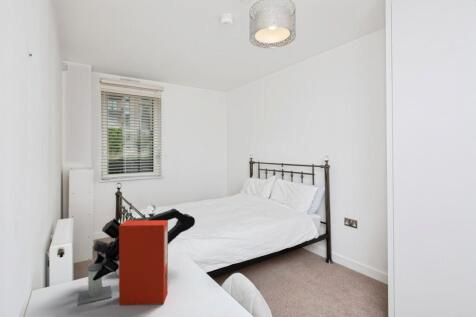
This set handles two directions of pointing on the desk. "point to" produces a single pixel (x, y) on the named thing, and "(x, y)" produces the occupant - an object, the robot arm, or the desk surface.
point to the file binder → (143, 262)
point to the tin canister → (96, 285)
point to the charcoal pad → (86, 299)
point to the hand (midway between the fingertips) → (92, 275)
